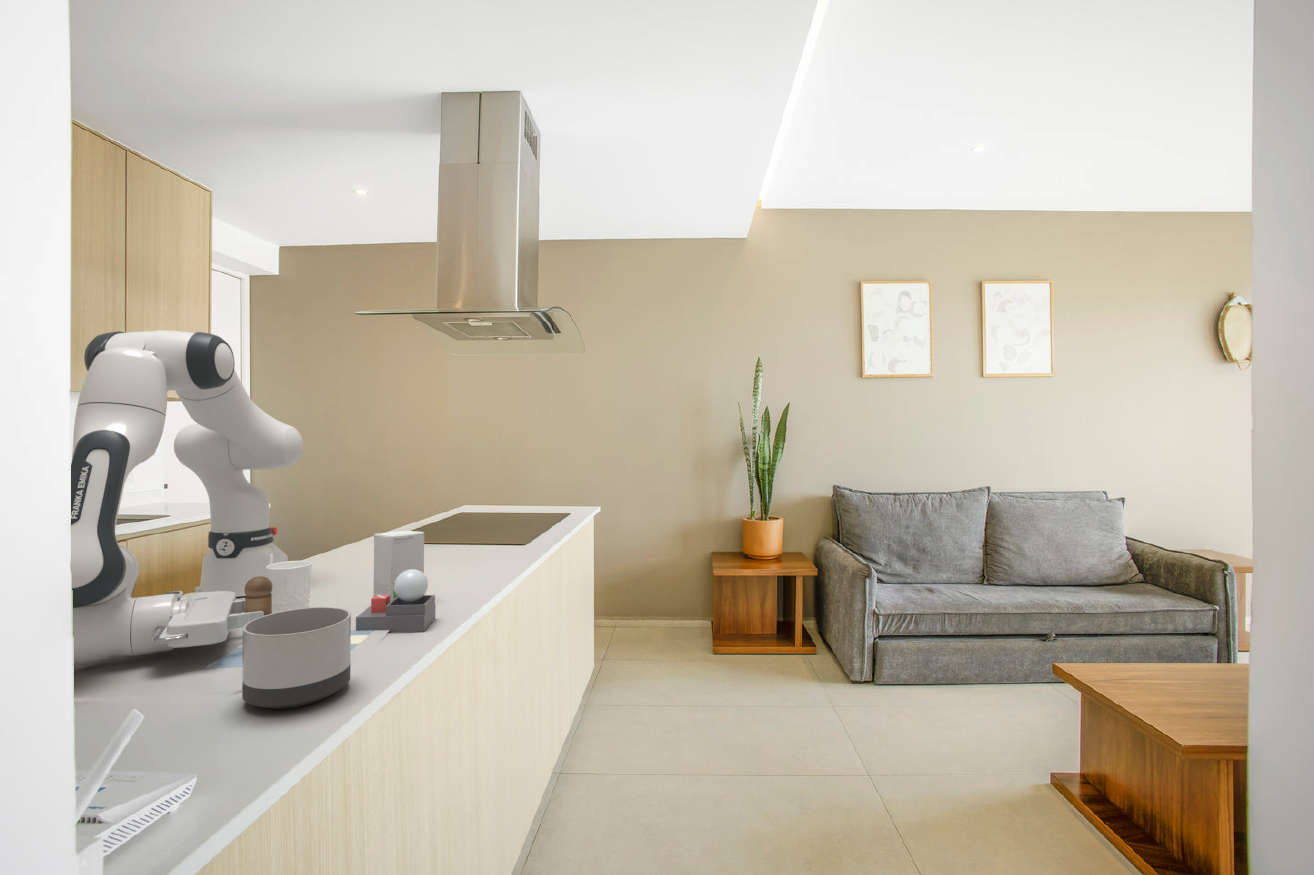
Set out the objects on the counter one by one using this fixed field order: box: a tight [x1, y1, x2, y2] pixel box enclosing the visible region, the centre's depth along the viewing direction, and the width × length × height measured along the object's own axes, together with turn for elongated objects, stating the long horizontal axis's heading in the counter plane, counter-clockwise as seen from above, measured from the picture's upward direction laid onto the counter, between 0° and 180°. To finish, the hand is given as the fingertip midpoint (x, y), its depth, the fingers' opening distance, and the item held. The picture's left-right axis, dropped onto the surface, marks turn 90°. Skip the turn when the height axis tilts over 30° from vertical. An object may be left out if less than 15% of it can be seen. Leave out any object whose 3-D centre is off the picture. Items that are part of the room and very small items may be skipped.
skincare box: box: [372, 530, 425, 602], centre depth 126 cm, size 8×7×16 cm
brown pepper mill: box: [244, 576, 273, 616], centre depth 102 cm, size 4×4×11 cm
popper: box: [355, 594, 436, 634], centre depth 113 cm, size 8×12×6 cm, turn 97°
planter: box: [241, 606, 352, 710], centre depth 83 cm, size 13×13×10 cm
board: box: [204, 630, 374, 669], centre depth 100 cm, size 16×20×1 cm
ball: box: [394, 569, 429, 602], centre depth 113 cm, size 6×6×6 cm
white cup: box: [266, 560, 313, 614], centre depth 120 cm, size 8×8×10 cm
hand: (264, 610), depth 102 cm, fingers open, 6 cm apart
